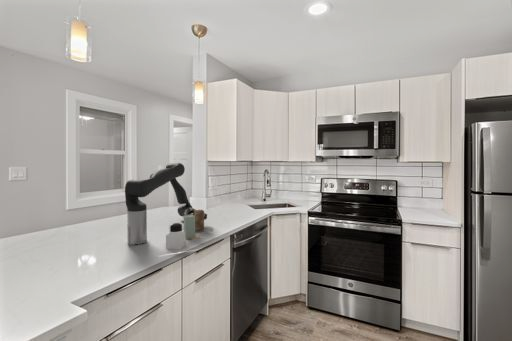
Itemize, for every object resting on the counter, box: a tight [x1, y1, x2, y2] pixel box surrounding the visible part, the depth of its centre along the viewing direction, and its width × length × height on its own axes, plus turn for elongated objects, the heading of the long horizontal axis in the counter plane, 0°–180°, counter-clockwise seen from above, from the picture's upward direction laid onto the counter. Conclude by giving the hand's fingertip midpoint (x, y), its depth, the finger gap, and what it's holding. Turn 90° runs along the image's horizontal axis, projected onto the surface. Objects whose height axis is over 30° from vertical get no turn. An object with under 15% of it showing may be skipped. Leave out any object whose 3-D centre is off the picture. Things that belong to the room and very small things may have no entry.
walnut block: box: [194, 209, 205, 231], centre depth 158 cm, size 5×5×12 cm
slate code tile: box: [195, 226, 210, 234], centre depth 158 cm, size 10×10×1 cm
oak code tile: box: [185, 233, 201, 242], centre depth 143 cm, size 10×10×1 cm
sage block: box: [183, 215, 196, 239], centre depth 143 cm, size 5×5×12 cm
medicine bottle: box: [165, 222, 186, 250], centre depth 128 cm, size 7×7×12 cm
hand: (198, 218), depth 158 cm, fingers open, 8 cm apart
